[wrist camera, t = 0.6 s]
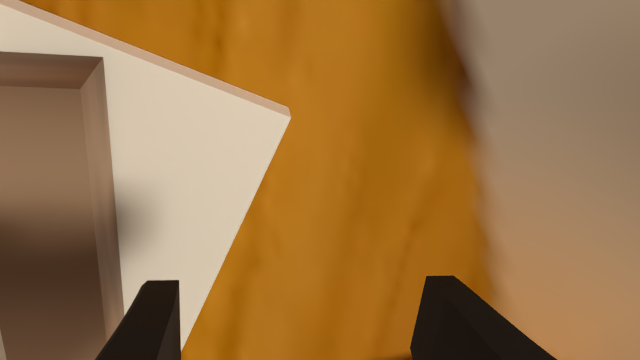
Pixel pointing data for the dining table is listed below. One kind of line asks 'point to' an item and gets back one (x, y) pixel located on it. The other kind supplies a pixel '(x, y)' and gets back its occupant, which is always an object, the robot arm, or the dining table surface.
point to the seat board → (165, 154)
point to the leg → (56, 209)
